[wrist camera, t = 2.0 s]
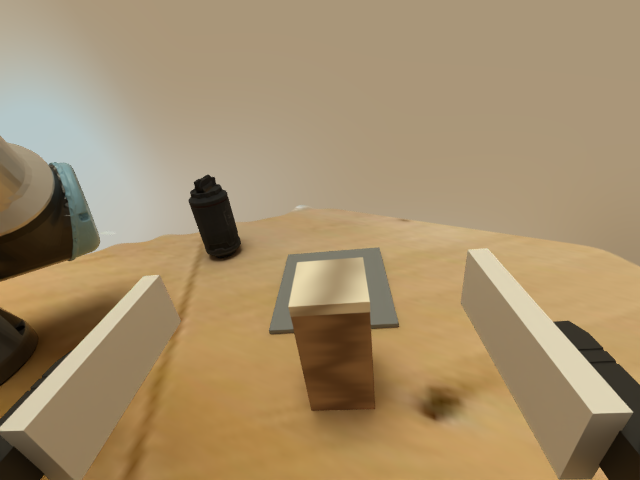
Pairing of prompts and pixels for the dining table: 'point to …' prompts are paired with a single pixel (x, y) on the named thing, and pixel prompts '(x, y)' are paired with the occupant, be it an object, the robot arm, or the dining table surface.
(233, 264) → the dining table surface
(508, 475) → the dining table surface
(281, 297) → the mat
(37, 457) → the robot arm
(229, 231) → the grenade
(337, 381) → the block
